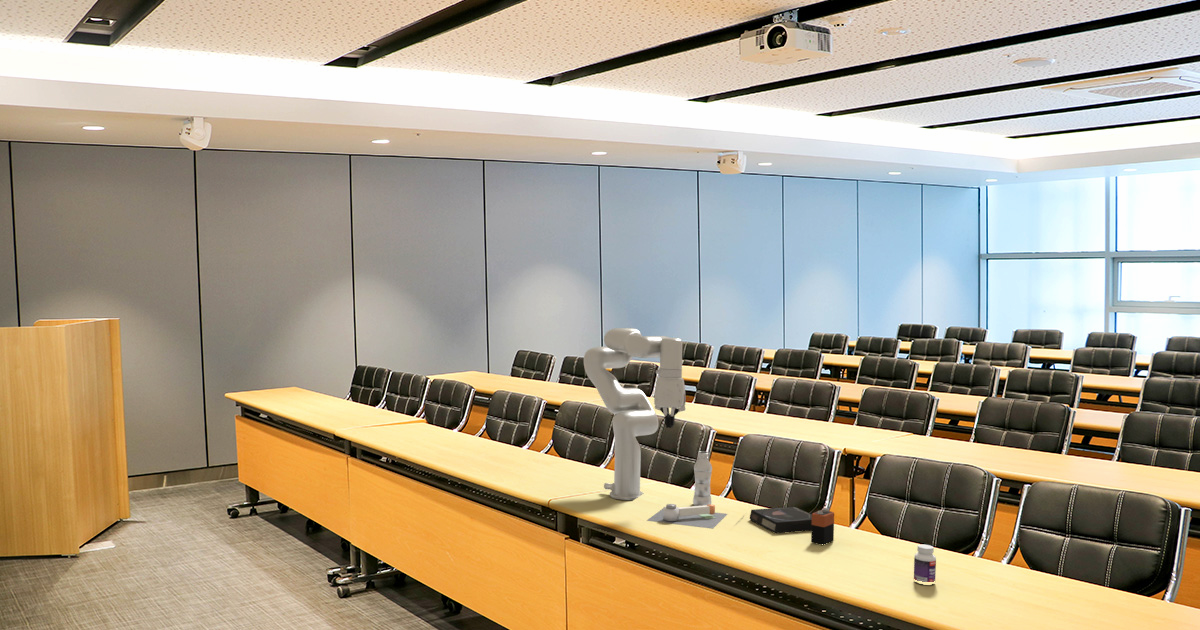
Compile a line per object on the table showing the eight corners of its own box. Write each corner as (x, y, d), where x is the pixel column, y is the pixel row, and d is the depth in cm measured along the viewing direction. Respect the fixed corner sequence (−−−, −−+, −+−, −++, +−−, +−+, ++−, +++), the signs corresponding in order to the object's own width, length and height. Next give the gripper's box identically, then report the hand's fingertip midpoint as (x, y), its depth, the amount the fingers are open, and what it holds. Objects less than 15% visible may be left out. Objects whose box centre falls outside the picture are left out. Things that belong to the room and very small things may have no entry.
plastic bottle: (711, 507, 311) (712, 450, 310) (711, 512, 304) (712, 454, 303) (692, 506, 311) (693, 450, 311) (692, 511, 304) (694, 453, 304)
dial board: (646, 525, 286) (646, 519, 286) (664, 511, 304) (665, 506, 304) (712, 533, 277) (713, 527, 277) (727, 518, 296) (727, 513, 296)
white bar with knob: (660, 517, 288) (661, 503, 288) (710, 513, 295) (711, 500, 294) (667, 521, 283) (667, 507, 283) (717, 517, 290) (718, 503, 290)
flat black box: (749, 521, 294) (749, 509, 294) (794, 518, 300) (794, 506, 299) (774, 535, 279) (774, 522, 278) (821, 531, 284) (821, 519, 284)
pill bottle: (932, 587, 230) (934, 550, 230) (911, 583, 233) (912, 547, 233) (937, 581, 235) (938, 545, 234) (916, 578, 238) (917, 542, 237)
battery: (834, 541, 271) (835, 509, 271) (823, 546, 266) (824, 513, 266) (821, 538, 274) (822, 506, 274) (810, 543, 269) (811, 510, 269)
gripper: (646, 373, 302) (645, 427, 302) (688, 376, 296) (687, 430, 297) (653, 371, 309) (652, 424, 309) (694, 374, 303) (693, 427, 304)
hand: (669, 427), depth 303 cm, fingers closed
